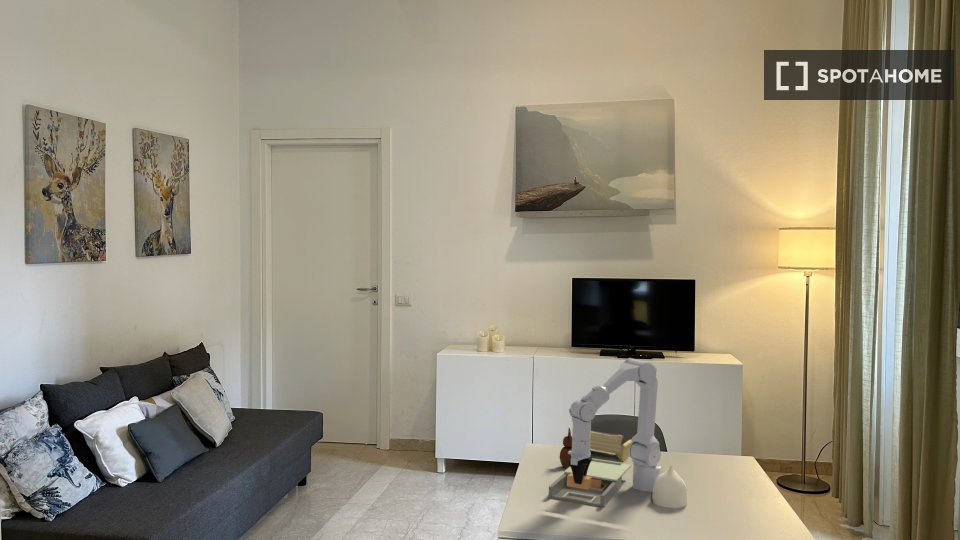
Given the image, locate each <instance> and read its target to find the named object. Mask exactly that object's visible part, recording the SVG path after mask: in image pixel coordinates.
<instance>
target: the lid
mask: <svg viewBox="0 0 960 540" xmlns="http://www.w3.org/2000/svg"><path fill="white" fill-rule="evenodd" d="M631 466H632V465H631V464H628V463H622V462H621V461H620V462H619V461H613V460H606V459H600V458H593V457H592V461H591V463H590V465H589V467H588V471H587V475H586V476H590V477H591V478H597V479H603V481H611V482H613V481H616V482H617V481H618V480H619V479H620V478H621V477H623V476H624V474H626V472H627V471H628V470H629V469H630V468H631ZM564 473H566V474H570V473H571V474H573V473H572V470H571V467H569V468H565V470H564V471H563V474H564Z"/></svg>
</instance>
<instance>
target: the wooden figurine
mask: <svg viewBox="0 0 960 540" xmlns="http://www.w3.org/2000/svg"><path fill="white" fill-rule="evenodd" d="M567 431H568V432H567V435H566V436H564V437H563V439H562V445H563V447H562V448H561V449H560V451H559V460H560V465H561V467H563V468H564V469H568V468H569V467H570V465H569V461H570V460H571V454H568V452H569V451H572V431H571V428H570V427H568V430H567Z"/></svg>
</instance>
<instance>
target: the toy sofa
mask: <svg viewBox="0 0 960 540" xmlns="http://www.w3.org/2000/svg"><path fill="white" fill-rule="evenodd" d="M624 441H625V436H624V435H623V434H616V433H615V434H614V433H607V432H601V431H594V430H591V437H590V450H594V451H600V452H605V453H611V454H615V456H617V458H618V460H619V461H620V462H622V461H623V462H625V461H626V460H627V459H629V458H631V457H630V455H629V447H630V445H631V442H632V439H628V440H627V441H626V442H624ZM628 457H629V458H628ZM625 459H626V460H625Z"/></svg>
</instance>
